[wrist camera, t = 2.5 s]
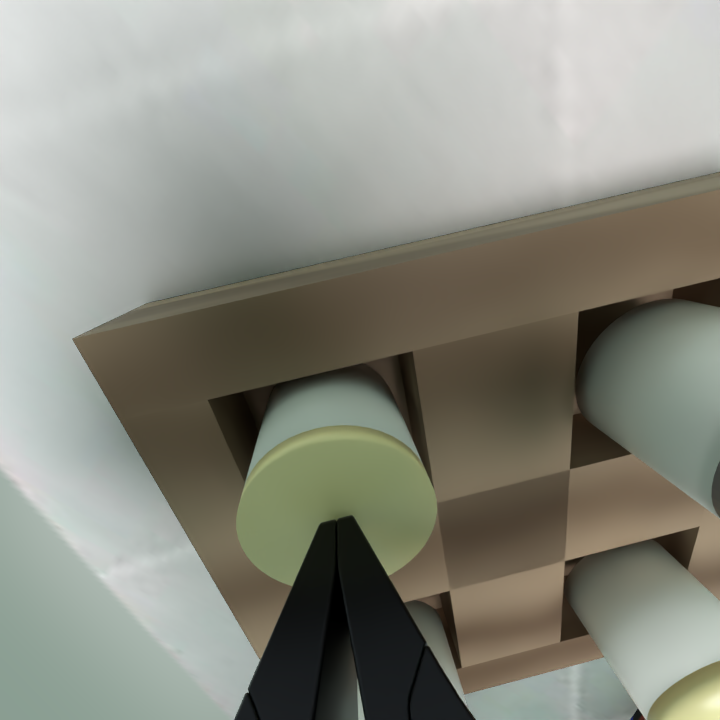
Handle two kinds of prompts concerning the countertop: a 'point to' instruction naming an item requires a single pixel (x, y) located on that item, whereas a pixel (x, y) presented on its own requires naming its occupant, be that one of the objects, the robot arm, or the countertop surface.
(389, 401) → the lit button
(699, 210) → the wooden grid tray
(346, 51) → the countertop surface
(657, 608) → the lit button
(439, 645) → the dark button
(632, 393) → the dark button
